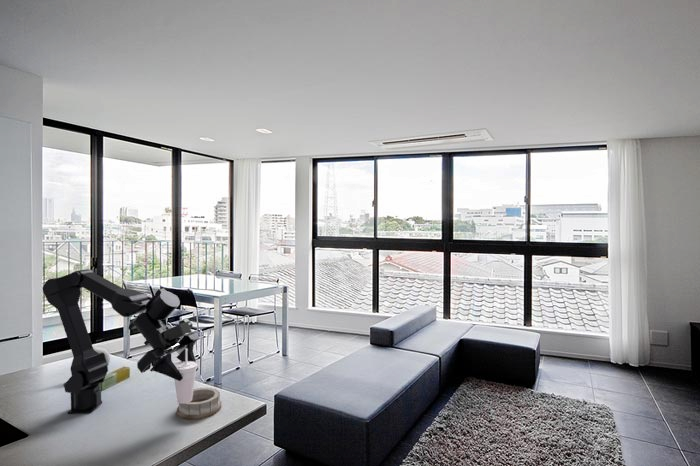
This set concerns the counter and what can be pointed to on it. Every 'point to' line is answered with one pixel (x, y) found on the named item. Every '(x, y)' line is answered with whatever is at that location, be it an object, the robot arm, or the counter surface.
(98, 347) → the donut
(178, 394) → the smoothie
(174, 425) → the counter surface
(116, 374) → the medication box
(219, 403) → the stone fire pit
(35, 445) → the counter surface
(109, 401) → the counter surface
